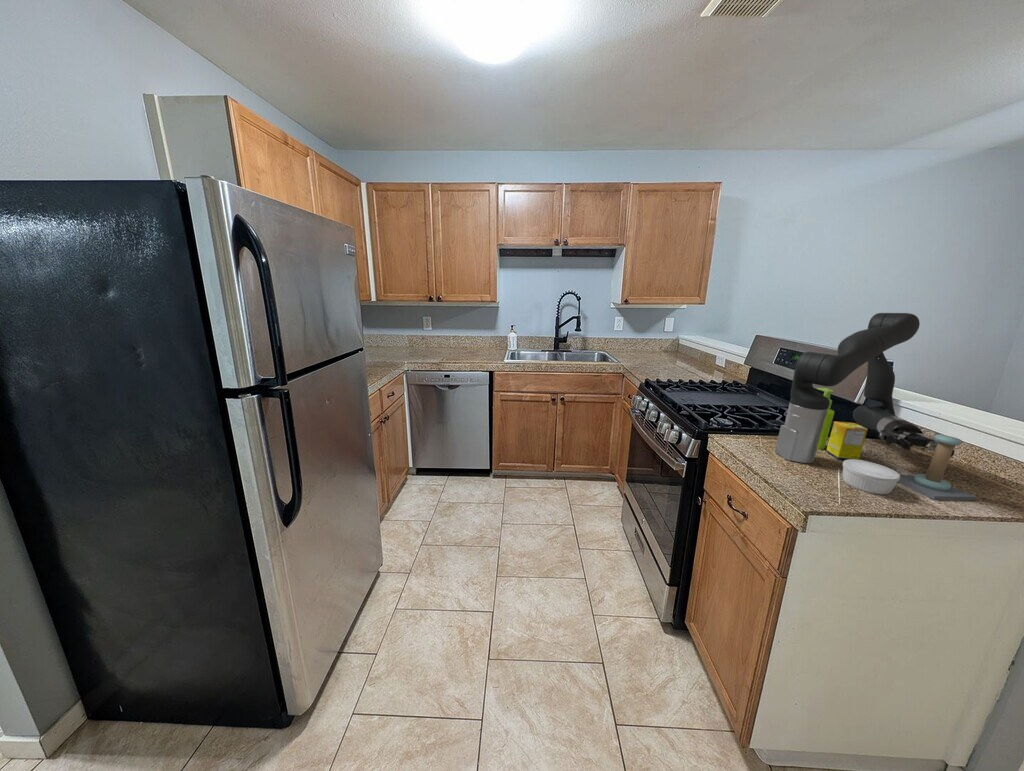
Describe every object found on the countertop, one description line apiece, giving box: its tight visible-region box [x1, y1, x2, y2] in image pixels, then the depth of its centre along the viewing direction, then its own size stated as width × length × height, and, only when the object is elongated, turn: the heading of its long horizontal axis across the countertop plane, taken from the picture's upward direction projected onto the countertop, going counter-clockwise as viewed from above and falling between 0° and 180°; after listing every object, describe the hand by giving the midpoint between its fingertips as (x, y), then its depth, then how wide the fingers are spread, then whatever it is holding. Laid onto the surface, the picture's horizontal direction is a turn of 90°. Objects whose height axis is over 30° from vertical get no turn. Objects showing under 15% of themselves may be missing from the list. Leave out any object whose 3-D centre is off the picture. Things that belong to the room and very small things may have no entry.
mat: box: [897, 474, 977, 501], centre depth 97 cm, size 11×11×1 cm
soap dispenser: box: [816, 387, 835, 450], centre depth 122 cm, size 6×7×20 cm
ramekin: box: [842, 459, 901, 495], centre depth 97 cm, size 11×11×5 cm
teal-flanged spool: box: [914, 434, 962, 491], centre depth 95 cm, size 6×6×14 cm
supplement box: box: [825, 420, 869, 461], centre depth 114 cm, size 6×6×11 cm
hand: (929, 450), depth 99 cm, fingers open, 8 cm apart
